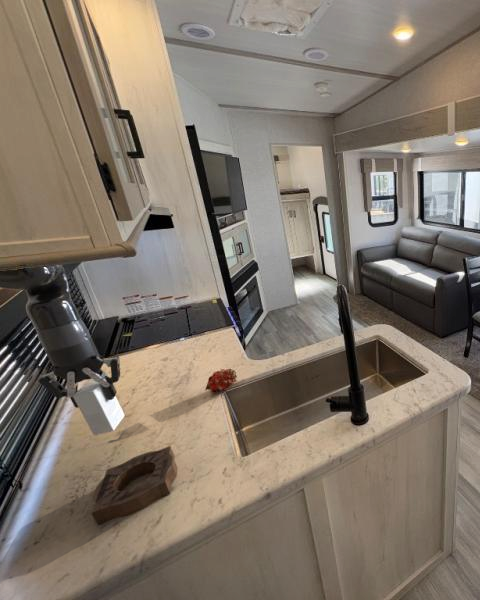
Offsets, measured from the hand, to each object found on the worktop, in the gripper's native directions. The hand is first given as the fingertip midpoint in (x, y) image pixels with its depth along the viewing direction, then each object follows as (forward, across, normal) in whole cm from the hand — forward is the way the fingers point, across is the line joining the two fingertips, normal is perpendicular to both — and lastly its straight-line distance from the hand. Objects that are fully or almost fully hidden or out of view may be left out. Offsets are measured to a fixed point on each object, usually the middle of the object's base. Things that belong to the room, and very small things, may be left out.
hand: (97, 402), depth 75 cm
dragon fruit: (+25, -24, -30) cm, 46 cm away
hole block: (+25, -2, +6) cm, 25 cm away
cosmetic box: (+8, 0, 0) cm, 8 cm away
